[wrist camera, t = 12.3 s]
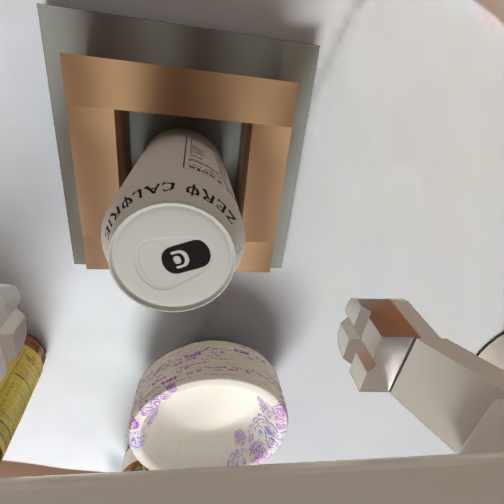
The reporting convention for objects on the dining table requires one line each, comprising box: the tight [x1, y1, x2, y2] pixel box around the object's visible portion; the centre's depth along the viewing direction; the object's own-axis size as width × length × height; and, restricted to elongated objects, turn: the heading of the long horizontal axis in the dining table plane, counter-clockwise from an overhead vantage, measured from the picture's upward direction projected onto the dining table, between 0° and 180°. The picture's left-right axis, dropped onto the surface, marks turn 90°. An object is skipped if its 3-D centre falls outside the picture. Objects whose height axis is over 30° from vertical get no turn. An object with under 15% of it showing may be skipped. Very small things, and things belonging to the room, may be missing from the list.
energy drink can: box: [101, 128, 246, 312], centre depth 19 cm, size 6×6×15 cm
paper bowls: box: [128, 340, 288, 470], centre depth 35 cm, size 15×15×8 cm
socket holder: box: [37, 3, 320, 272], centre depth 24 cm, size 18×18×6 cm
